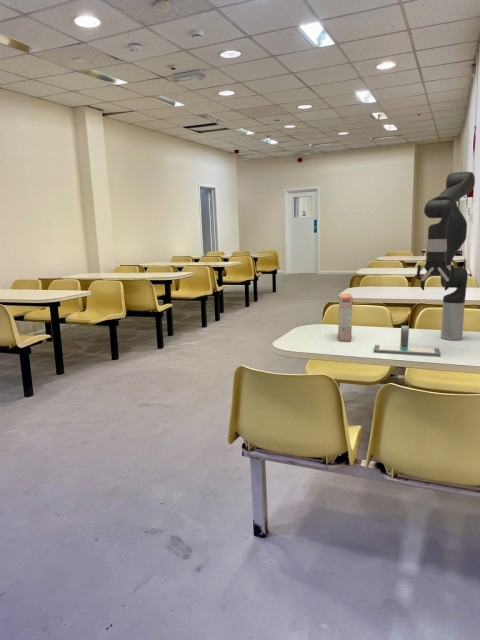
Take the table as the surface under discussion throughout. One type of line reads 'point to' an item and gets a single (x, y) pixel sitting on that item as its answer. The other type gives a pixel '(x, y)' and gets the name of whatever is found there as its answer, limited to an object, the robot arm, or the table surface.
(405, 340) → the marker
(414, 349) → the drawing board
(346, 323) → the cracker box
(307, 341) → the table surface
